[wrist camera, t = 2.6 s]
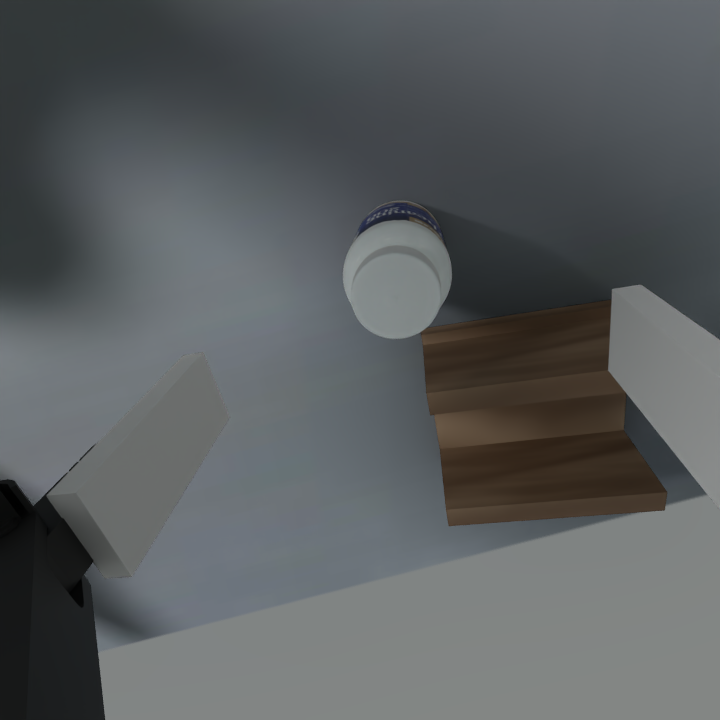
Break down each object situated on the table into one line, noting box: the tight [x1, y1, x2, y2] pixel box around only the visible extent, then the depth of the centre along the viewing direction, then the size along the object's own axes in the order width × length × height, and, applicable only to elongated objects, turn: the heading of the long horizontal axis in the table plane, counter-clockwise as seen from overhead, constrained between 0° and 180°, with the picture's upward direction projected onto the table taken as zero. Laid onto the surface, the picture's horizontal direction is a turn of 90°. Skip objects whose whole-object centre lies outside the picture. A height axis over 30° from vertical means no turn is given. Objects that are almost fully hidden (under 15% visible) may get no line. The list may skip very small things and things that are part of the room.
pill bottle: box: [343, 201, 452, 339], centre depth 23 cm, size 5×5×10 cm
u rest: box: [421, 300, 667, 526], centre depth 29 cm, size 12×13×7 cm
